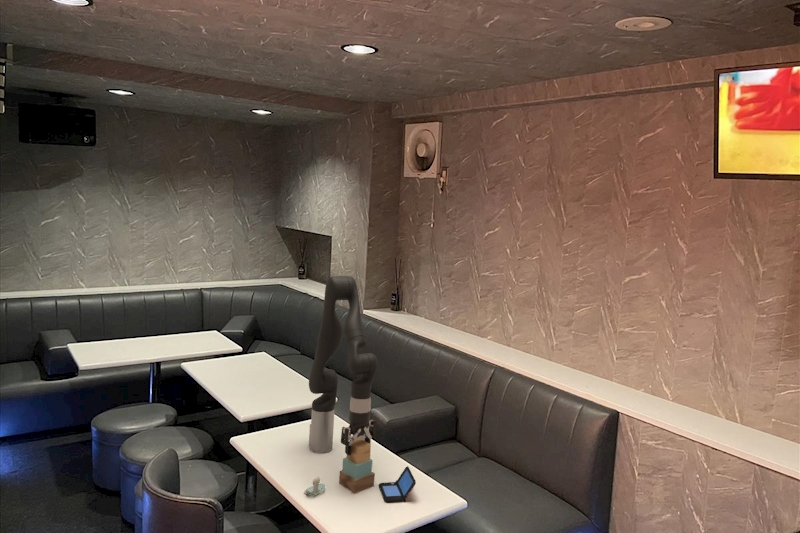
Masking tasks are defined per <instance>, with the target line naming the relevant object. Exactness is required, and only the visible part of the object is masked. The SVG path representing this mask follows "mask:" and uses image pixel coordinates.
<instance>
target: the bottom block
mask: <svg viewBox="0 0 800 533" xmlns="http://www.w3.org/2000/svg"><path fill="white" fill-rule="evenodd" d="M338 476H339V479H338V480H339V481H338V484H339V485H340V486H342V487H343V488H345V489H347V490H348V491H350V492H351V493H353V494H358V493H360V492H362V491H365V490H367V489H369V488H372V487H375V472H373V471H372V473H370V474H368V475H366V476H363V477H361V478H358V479H354V478H353V477H351V476H349V475H347V474H346V473H344V472H342V469H340V470H339V475H338Z"/></svg>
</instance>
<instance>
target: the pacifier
mask: <svg viewBox="0 0 800 533" xmlns="http://www.w3.org/2000/svg"><path fill="white" fill-rule="evenodd" d="M325 490H326V485H325V483H321V478H320V477H319V476H316V477H315V478H314V479H313V480H312V486H310V487H307V488H305V489H304V491H303V493H304V494H305V495H311V496H317V495H318V494H320V493H322V492H324V491H325Z"/></svg>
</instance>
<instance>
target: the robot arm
mask: <svg viewBox="0 0 800 533" xmlns="http://www.w3.org/2000/svg"><path fill="white" fill-rule="evenodd" d="M325 283H326V284H325V288H324V289H325V290H324V299H323V300H324V301H323V309H322V315H321V322H320V326H319V331H318V336H317V343H316V344H317V345H316V349H315V354H314V359H313V363H312V366H311V370H310V373H309V378H308V387H309V391H310V393H312V394H315V395H318V394H321V395H320V396H318V397H317V398H315V399H314V400H312V402H311V420H310V422H311V423H310V424H309V434H308V439H309V440H308V447H309V450H310V451H312V452H313V453H316V454H326V453H330V452H331V451H332V450H333V443H334V442H333V441H334V440H333V439H334V428H335V427H334V425H335V407H336V406H335V405H336V402H337V395H338V394H337V393H338V384H339V383H338V381H339V380H338V375H337V372H336V370H334V369H332V368H330V369H329V368H327V369H325V368H326V365H327V364H328V362H330V360H331V359H332V358H333V356H334V355H335V354H336V353H337V352H338V351H339V349H340V347H341V345H342V339H343V335H344V337H345V341H346V346H347V368H348V371H349V372H350V373H351V374H352V375H361V376H360V377H358V378H355V379H353V380H352V382H351V387H350V388H351V391H350V400H349V413H348V421H349V425H348V426H346V427H345V426H342V428H341V436H340V443H341V444H342V445H343V446H345V449H344V452H345V454H346V456H347V455H351V448H352V445H351V444H352V442H353V441H354V440H355V439H356V437H359V436H363V435H364V436H365V437H366V438H365V441H366V442H368V443H370V444H371V441H372V438H373V437H375V436H376V433H377V432H376V426H377V424H376V422H377V421H376V420H373V419H372V418H370V416H371V407H372V406H371V405H372V400H371V396H372V394H371V393H372V384H373V382H374V378H375V376H376V373H377V370H378V365H379V364H378V363H379V362H378V358H377V356H376V355H375V354H374V353H370V352H368V353H359V351H361V350H363V349H365V348H366V347H367V346H368V341H367V337H366V334H365V331H364V327H363V326H364V325H363V322H362V317H361V306H360V298H359V290H358V285H357V282H356V279H355V278H354V276H351V275H333V276H331V275H330V276H329V277H328V278H327V281H326V282H325ZM337 301H347V302H348V305H349V306H348V308H349V310H348V313H347V316H346V318H345V322H344V325H342V323H341V321H340V319H339V317H338V314H337V313H336V303H337ZM343 333H344V334H343ZM368 427H369V431H368V430H367V429H368ZM352 435H353V437H352Z"/></svg>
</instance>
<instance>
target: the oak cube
mask: <svg viewBox="0 0 800 533" xmlns="http://www.w3.org/2000/svg"><path fill="white" fill-rule="evenodd" d="M351 445H352V448H351V455H347V454H346V457H347V459H348V460H350V461H352V462H353V463H355V464H360V463H363V462H366V461H368V460H370V459H371V446H372V444H371V443H368V442H366V441H364V440H362V439H357V440H354V441H353V442H352V444H351Z"/></svg>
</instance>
